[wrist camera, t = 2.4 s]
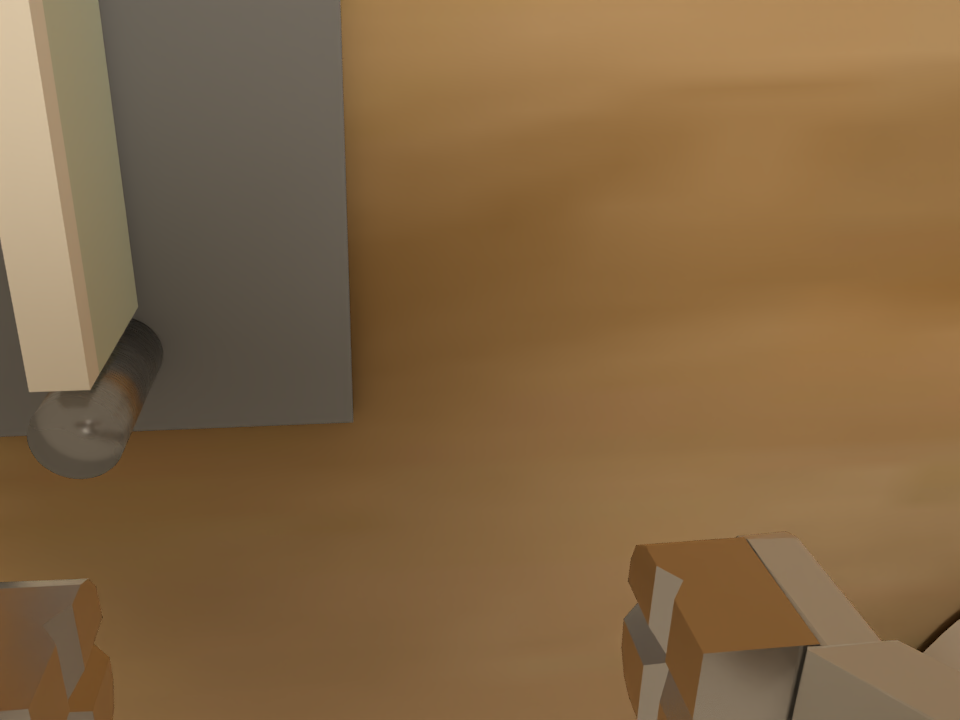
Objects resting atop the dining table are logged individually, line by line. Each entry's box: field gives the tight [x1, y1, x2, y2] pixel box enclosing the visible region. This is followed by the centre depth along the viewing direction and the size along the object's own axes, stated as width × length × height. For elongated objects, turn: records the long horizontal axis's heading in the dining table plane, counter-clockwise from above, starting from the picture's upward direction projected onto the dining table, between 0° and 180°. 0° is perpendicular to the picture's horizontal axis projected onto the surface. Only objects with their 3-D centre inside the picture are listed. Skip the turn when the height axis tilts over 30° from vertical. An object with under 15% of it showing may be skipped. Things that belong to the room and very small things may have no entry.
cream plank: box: [0, 0, 138, 392], centre depth 19 cm, size 11×1×5 cm, turn 178°
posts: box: [27, 318, 163, 479], centre depth 18 cm, size 16×2×8 cm, turn 178°
